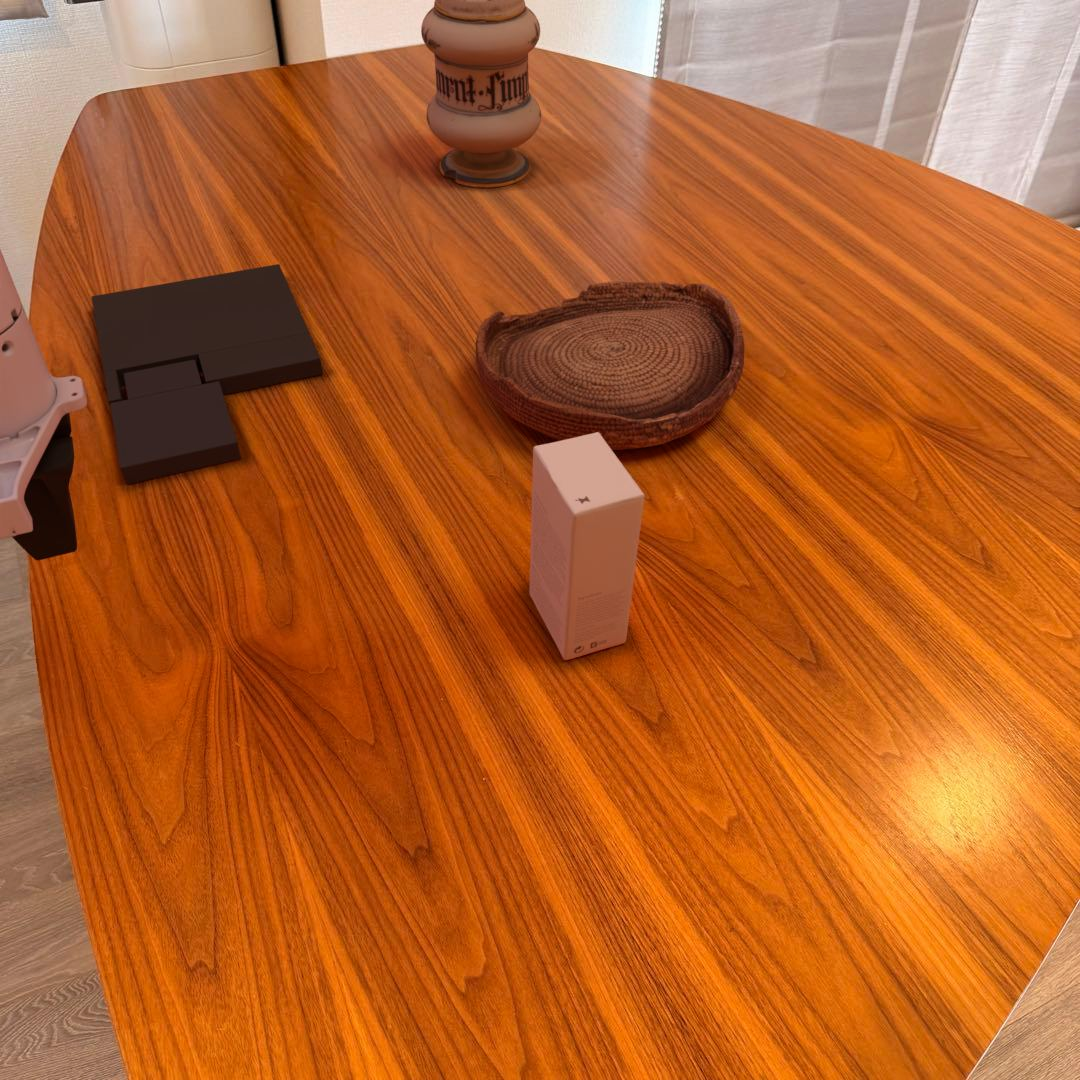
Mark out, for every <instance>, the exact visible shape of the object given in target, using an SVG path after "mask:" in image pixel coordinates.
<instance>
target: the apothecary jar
mask: <svg viewBox="0 0 1080 1080" xmlns="http://www.w3.org/2000/svg"><path fill="white" fill-rule="evenodd" d="M420 33H421V38H422V41H423V43H424V45H425V46H426V47H427V49H428V50H429V51H430V52H432V53H433V55H434V67H435V69H434V70H435V83H436V86H435V87H436V88H435V89H436V91H435V95H433V96H432V97H431V99H430V102H429V103H428V105H427V107H426V122H427V125H428V128H429V130H430V131H431V133H432V134H433V135H434V136H435V137H436V138H437V139H438V140H439V141H440V142H442V143H443V144H444V145H447V146H448V147H450V148H453V150H451V151H449V152H447V153H446V154H445V155H444V156H443V157H442V158H441V160H440V161H439V166H438V167H439V171H440V174H442V176H443V177H445V178H449V179H453V180H454V182H455V183H456V184H457V185H461V186H465V187H469V188H470V187H471V188H480V189H481V188H482V189H488V188H501V187H506V186H511V185H513V184H516V183H518V182H520V181H521V180H523V179H525V178H526V177H527V176H528V175H529V173H530V170H531V164H530V162H529V159H527V157H526V156H524V155H523V154H522V153H521V152H520V151H518V150H515V149H516V148H518V147H520V146H522V145H523V144H525V143H526V142H528V141H529V140H530V139H532V137H533V136H534V135H535V134H536V132H537V130H538V129H539V127H540V124H541V122H542V111H541V110H542V109H541V107H540V106H541V105H540V104H539V102H538V100H537V99H536V97H535V96H534V95H533V93H531V92H530V84H529V83H530V82H529V81H530V79H529V53H530V52H531V51H533V49H534V48H535V47H536V46H537V44H538V42H539V40H540V37H541V26H540V21H539V19H538V17H537V16H536V15H535V13H534V12H533V11H532V10H531V9H530V8H529V7H528V6H527V5H526V1H525V0H434V3H433V7H431V8H430V10H429V11H428V12H427V13H426V14H425V16H424V18H423V20H422V22H421V27H420Z"/></svg>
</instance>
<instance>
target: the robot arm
mask: <svg viewBox="0 0 1080 1080" xmlns="http://www.w3.org/2000/svg"><path fill="white" fill-rule="evenodd" d="M10 272H11V271H10V270H9V267H8V265H7V263H6V260H5V257H4V255H3V253H2V249H0V540H3V539H7V538H13V540H14V541H15V542H16V543H17V544H18V545H19V546H20V547H21V548H22V549H23V550H24V551H25V553H27V554H28V555H29V556H30V557H31V558H33V559H34V560H35V561H42V560H46V559H47V560H48V559H50V558H55V557H59V556H63V555H67V554H71V553H72V554H73V553H75V552H76V551H77V549H78V538H77V529H76V520H75V514H74V508H73V502H72V497H71V492H70V482H71V478H72V475H73V472H74V463H75V449H74V440H73V439H74V438H73V436H71V435H72V431H73V430H72V423H71V413H75V412H79V411H81V410H83V409H85V408H86V407H87V404H88V399H87V398H88V397H87V391H86V390H87V389H86V388H85V384H84V382H83V380H82V378H81V377H80V376H77V375H68V376H62V377H61V376H60V377H56V376H53V375H52V374H51V372H50V370H49V368H48V365H47V362H46V360H45V357H44V355H43V353H42V350H41V348H40V345H39V343H38V340H37V337H36V334H35V332H34V329H33V327H32V325H31V323H30V321H29V317H28V316H27V314H26V310H25V308H24V306H23V303H22V301H21V300H22V299H21V298H20V294H19V292H18V290H17V288H16V285H15V282H14V281H13V277H12V275H11V273H10Z"/></svg>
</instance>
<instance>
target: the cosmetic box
mask: <svg viewBox="0 0 1080 1080" xmlns="http://www.w3.org/2000/svg"><path fill="white" fill-rule="evenodd" d="M531 479H532V482H531V516H530V517H531V519H530V554H529V555H530V558H529V559H530V560H529V596H530V598H531V600H532V602H533V603H534V606H535V608H536V609H537V612H538V613H539V615H540V617H541V619H542V621H543V623H544V625H545V627H546V628H547V630H548V632H549V634H550V636H551V638H552V640H553V642H554V644H555V646H556V647H557V650H558V652H559V653H560V655H561V657H562V659H563V660H564V661H569V660H573V659H577V658H580V657H582V656H585V655H589V654H592V653H595V652H599V651H603V650H606V649H608V648H612V647H616V646H619V645H623V644H625V643H626V642H627V637H628V636H627V635H628V628H629V621H630V620H629V619H630V612H631V605H632V597H633V591H634V590H633V589H634V583H635V582H634V581H635V575H636V574H635V573H636V566H637V565H636V564H637V557H638V548H639V542H640V533H641V526H642V518H643V511H644V503H645V502H644V501H645V493H644V492H643V490H642V489H641V488H640V487H639V485H638V483H637V482H636V481H635V480H634V478H633V477H632V475H631V474H630V473H629V472H628V470H627V469H626V467H625V466H624V465H623V463H622V461H620V459H619V458H618V457H617V455H616V454H615V452H614V451H613V449H611V448H610V447H609V446H608V444H607V443H606V441H605V440H604V439H603V437H602V436H601V434H600V433H599V432H596V433H592V434H588V435H583V436H579V437H575V438H571V439H566V440H562V441H559V440H557V441H554V442H549V443H543V444H539V445H535V446H533V450H532V477H531Z"/></svg>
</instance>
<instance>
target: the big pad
mask: <svg viewBox="0 0 1080 1080" xmlns="http://www.w3.org/2000/svg"><path fill="white" fill-rule="evenodd" d="M91 302H92V309H93V314H94V322H95V327H96V328H95V329H96V333H97V339H98V340H97V341H98V346H99V351H100V352H99V353H100V358H101V365H102V371H103V377H104V383H105V389H106V395H107V401H108V405H110V403H114V402H119V401H124V400H125V399H124V393H123V387H126V385H125V380H124V373H128V372H133V371H138V370H143V369H148V368H153V367H159V366H164V365H169V364H174V363H179V362H184V361H189V360H195V361H196V365H197V368H198V372H202V375H203V378H204V381H205V384H208V383H213V382H217V381H219V382H220V385H221V389H222V392H223V395H224V396H225V395H231V394H237V393H241V392H246V391H251V390H255V389H260V388H264V387H270V386H274V385H280V384H283V383H285V384H286V383H289V382H294V381H299V380H304V379H309V378H314V377H319V376H323V374H324V371H323V365H322V360H321V356H320V354H319V352H318V350H317V347H316V345H315V342H314V340H313V337H312V335H311V334H310V331H309V329H308V326H307V324H306V322H305V319H304V318H303V315H302V313H301V311H300V308H299V305H298V304H297V302H296V299H295V296H294V295H293V292H292V290H291V288H290V285H289V283H288V281H287V278H286V276H285V274H284V272H283V270H282V267H281V265H280V264H279V263H277V264H271V265H266V266H265V265H264V266H259V267H254V268H248V269H242V270H237V271H231V272H224V273H220V274H212V275H207V276H201V277H196V278H190V279H183V280H178V281H171V282H166V283H160V284H155V285H150V286H143V287H138V288H132V289H125V290H121V291H114V292H108V293H103V294H98V295H97V294H96V295H92V296H91Z"/></svg>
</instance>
